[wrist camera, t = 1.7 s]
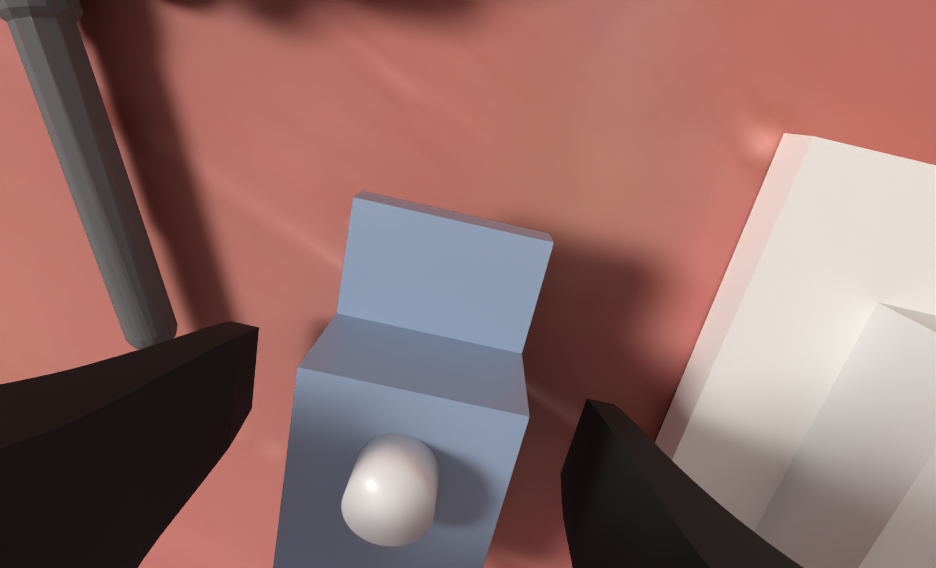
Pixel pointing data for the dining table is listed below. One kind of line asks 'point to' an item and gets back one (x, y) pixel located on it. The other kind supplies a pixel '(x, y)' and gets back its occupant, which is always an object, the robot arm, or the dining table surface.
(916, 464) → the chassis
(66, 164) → the walkie-talkie
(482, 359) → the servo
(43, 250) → the dining table surface
